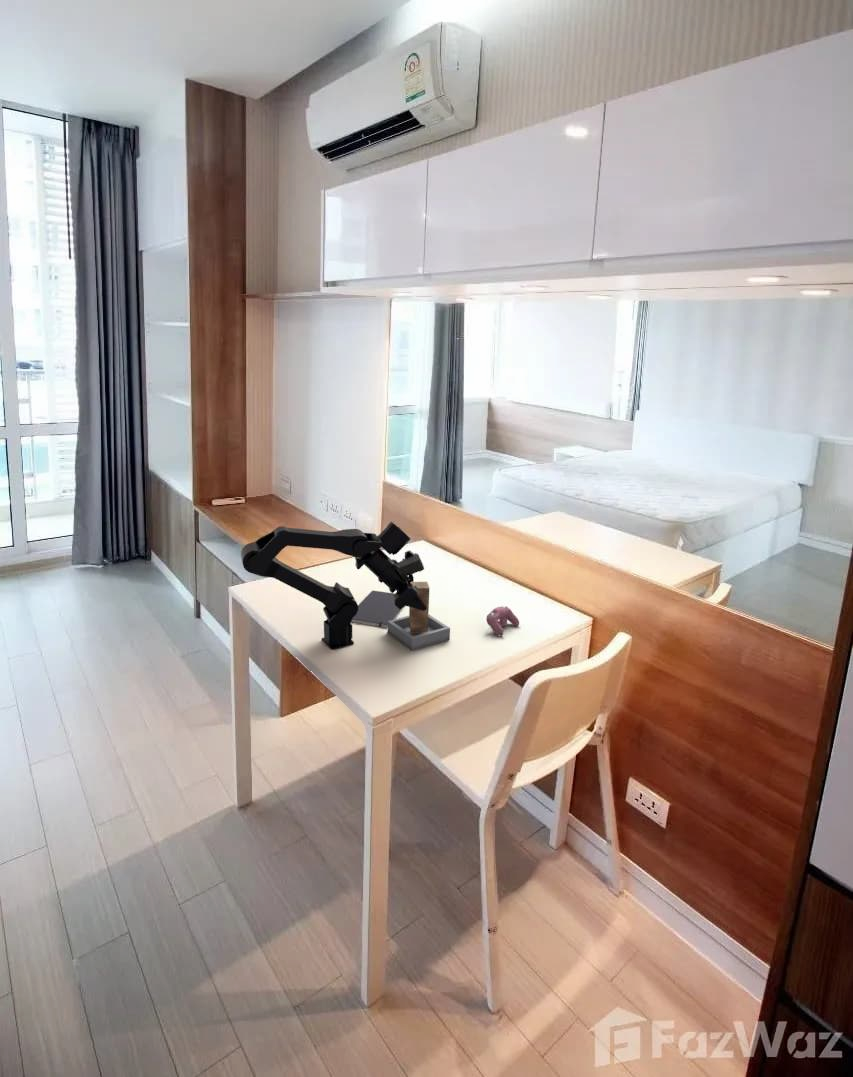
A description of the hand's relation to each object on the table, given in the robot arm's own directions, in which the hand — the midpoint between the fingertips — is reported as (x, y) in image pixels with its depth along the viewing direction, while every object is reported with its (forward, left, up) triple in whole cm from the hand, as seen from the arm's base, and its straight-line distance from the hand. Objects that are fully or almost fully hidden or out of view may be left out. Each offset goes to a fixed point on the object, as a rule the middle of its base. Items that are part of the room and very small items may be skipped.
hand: (424, 605), depth 172 cm
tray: (-1, +1, -9) cm, 9 cm away
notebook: (-1, +21, -10) cm, 23 cm away
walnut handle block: (-1, +1, -7) cm, 7 cm away
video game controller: (+22, -7, -9) cm, 25 cm away
